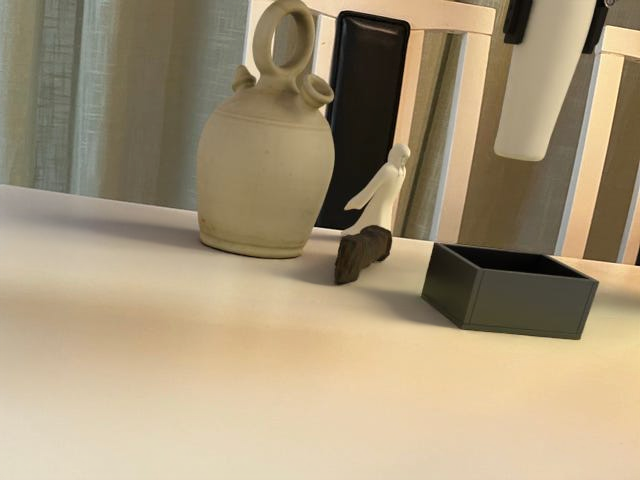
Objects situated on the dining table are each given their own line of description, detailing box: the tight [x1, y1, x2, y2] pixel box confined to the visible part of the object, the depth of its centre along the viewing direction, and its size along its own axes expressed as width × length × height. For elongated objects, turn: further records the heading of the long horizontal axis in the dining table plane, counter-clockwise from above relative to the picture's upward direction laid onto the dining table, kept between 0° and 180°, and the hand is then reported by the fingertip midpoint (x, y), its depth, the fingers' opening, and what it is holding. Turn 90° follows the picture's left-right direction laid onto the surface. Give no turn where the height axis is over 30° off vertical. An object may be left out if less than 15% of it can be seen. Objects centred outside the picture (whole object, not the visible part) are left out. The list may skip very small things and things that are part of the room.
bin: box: [420, 241, 600, 341], centre depth 100 cm, size 12×12×6 cm
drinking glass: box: [493, 0, 597, 162], centre depth 102 cm, size 7×7×15 cm
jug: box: [195, 0, 336, 259], centre depth 112 cm, size 15×16×25 cm
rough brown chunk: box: [333, 225, 393, 284], centre depth 111 cm, size 19×4×5 cm, turn 156°
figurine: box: [339, 142, 411, 237], centre depth 127 cm, size 8×8×12 cm
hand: (547, 47), depth 100 cm, fingers closed on drinking glass, 6 cm apart
